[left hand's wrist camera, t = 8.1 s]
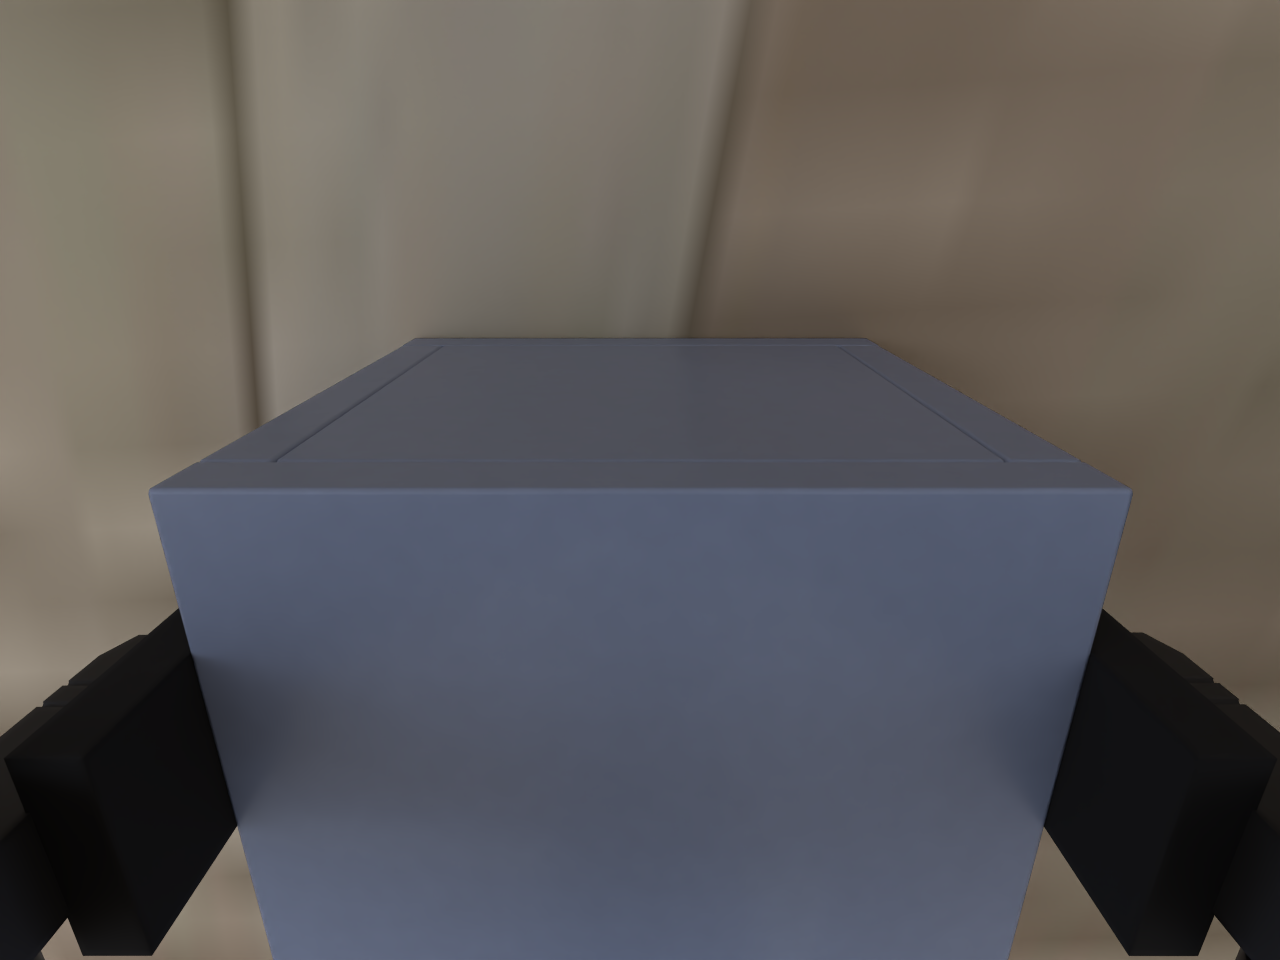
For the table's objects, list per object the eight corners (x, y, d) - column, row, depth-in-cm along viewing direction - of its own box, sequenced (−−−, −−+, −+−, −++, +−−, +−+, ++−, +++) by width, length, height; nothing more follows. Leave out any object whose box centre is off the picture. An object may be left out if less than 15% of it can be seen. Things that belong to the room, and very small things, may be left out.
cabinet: (809, 846, 22) (923, 1278, 13) (471, 846, 22) (356, 1278, 13) (866, 338, 17) (1138, 489, 8) (414, 338, 17) (143, 489, 8)
